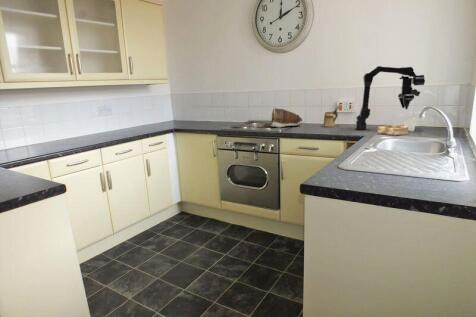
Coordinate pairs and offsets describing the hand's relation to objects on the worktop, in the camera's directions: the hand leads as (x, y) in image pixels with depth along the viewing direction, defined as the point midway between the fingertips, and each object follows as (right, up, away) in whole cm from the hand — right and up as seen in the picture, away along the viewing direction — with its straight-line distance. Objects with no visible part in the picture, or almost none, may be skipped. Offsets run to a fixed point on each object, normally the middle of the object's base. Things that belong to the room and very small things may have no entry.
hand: (404, 108), depth 224 cm
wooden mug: (-43, -10, +30) cm, 53 cm away
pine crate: (-14, -18, -12) cm, 26 cm away
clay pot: (-77, -9, +37) cm, 86 cm away
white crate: (+2, -15, -2) cm, 16 cm away
